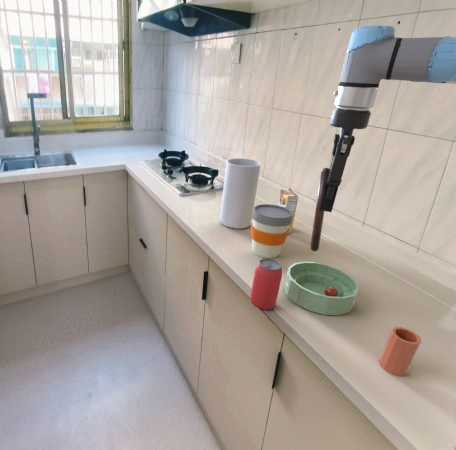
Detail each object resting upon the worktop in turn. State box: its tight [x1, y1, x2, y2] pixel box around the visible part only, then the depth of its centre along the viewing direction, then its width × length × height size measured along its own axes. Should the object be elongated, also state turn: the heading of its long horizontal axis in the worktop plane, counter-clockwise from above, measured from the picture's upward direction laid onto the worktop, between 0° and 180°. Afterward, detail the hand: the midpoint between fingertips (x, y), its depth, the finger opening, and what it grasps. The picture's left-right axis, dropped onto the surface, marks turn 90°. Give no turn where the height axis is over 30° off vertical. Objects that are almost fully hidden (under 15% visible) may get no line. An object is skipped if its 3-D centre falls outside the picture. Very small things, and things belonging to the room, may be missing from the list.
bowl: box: [283, 261, 360, 317], centre depth 91 cm, size 17×17×6 cm
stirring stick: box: [309, 167, 330, 252], centre depth 84 cm, size 2×2×22 cm
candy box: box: [277, 188, 299, 234], centre depth 130 cm, size 9×4×15 cm, turn 177°
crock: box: [378, 326, 422, 377], centre depth 68 cm, size 5×5×9 cm
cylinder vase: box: [219, 157, 262, 230], centre depth 132 cm, size 12×12×25 cm
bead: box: [324, 287, 338, 297], centre depth 90 cm, size 3×3×3 cm
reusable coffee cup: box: [250, 203, 292, 259], centre depth 112 cm, size 12×13×15 cm
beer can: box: [249, 257, 283, 311], centre depth 87 cm, size 7×7×12 cm
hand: (325, 208), depth 83 cm, fingers closed on stirring stick, 2 cm apart
